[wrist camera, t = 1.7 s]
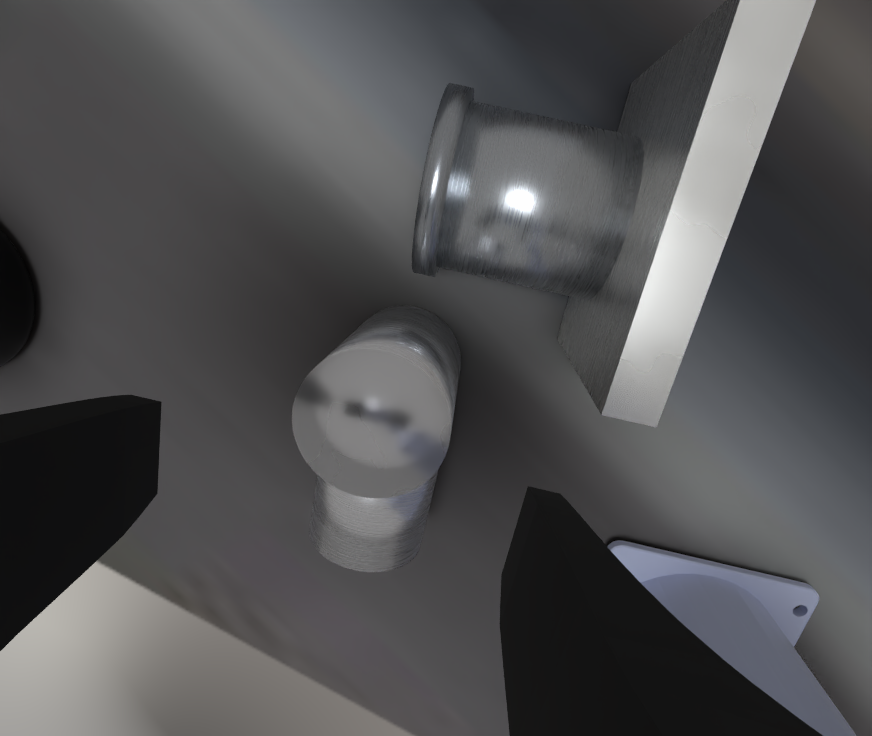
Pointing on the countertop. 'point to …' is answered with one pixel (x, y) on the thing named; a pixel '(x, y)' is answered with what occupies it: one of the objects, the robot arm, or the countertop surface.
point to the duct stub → (615, 198)
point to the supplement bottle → (14, 301)
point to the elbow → (378, 436)
